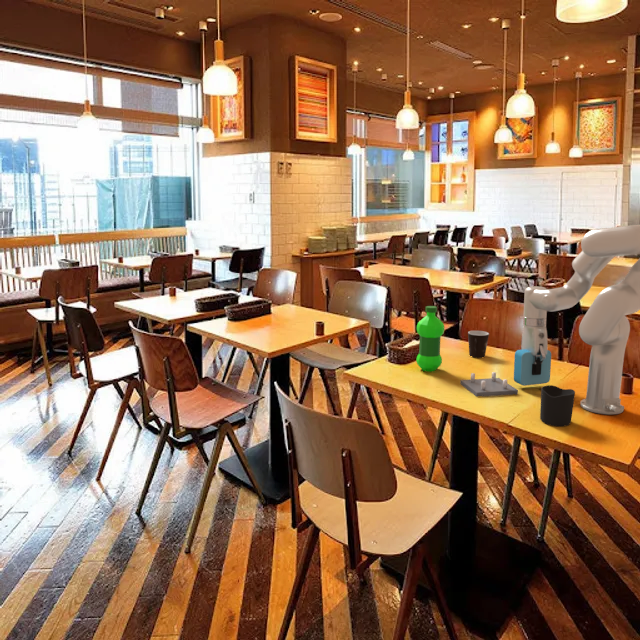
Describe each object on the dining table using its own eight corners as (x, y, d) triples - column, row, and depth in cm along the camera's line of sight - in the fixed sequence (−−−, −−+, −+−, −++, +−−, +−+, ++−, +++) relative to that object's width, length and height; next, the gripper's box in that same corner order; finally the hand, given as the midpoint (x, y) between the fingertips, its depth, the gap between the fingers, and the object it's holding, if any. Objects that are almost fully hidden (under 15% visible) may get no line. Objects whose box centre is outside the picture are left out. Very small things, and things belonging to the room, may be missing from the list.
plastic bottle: (443, 374, 227) (446, 309, 222) (415, 372, 228) (417, 309, 223) (441, 366, 237) (444, 305, 231) (415, 365, 238) (417, 304, 233)
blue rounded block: (542, 379, 215) (543, 347, 213) (550, 383, 211) (551, 350, 208) (513, 382, 212) (514, 350, 209) (520, 386, 207) (522, 352, 205)
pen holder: (561, 415, 185) (564, 384, 183) (578, 426, 176) (581, 394, 174) (533, 416, 184) (535, 386, 182) (548, 428, 175) (551, 396, 173)
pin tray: (517, 394, 204) (518, 381, 203) (476, 396, 202) (477, 384, 201) (498, 381, 218) (499, 370, 217) (460, 384, 215) (460, 372, 214)
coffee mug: (474, 352, 258) (476, 329, 256) (491, 356, 252) (493, 333, 250) (458, 356, 251) (459, 333, 249) (475, 361, 244) (476, 337, 242)
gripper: (558, 326, 199) (555, 378, 203) (531, 317, 216) (529, 365, 219) (537, 327, 198) (534, 379, 201) (512, 318, 215) (510, 367, 218)
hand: (532, 372), depth 210 cm, fingers closed on blue rounded block, 4 cm apart
